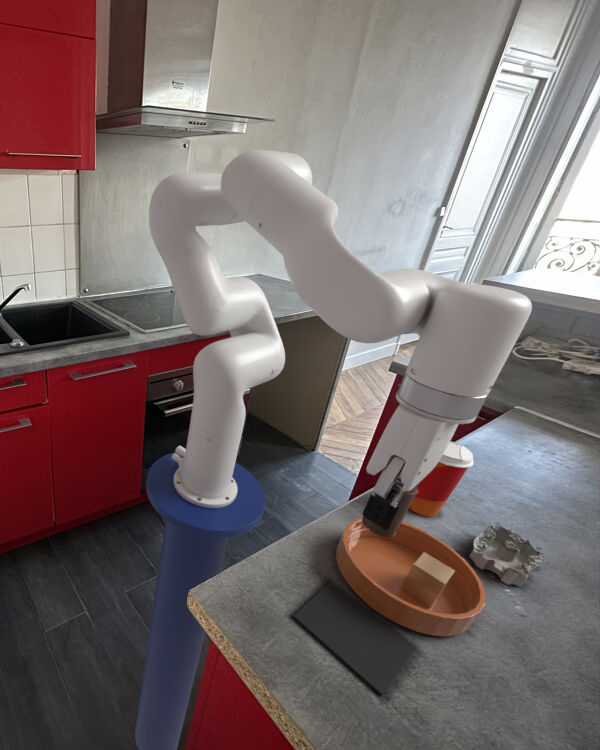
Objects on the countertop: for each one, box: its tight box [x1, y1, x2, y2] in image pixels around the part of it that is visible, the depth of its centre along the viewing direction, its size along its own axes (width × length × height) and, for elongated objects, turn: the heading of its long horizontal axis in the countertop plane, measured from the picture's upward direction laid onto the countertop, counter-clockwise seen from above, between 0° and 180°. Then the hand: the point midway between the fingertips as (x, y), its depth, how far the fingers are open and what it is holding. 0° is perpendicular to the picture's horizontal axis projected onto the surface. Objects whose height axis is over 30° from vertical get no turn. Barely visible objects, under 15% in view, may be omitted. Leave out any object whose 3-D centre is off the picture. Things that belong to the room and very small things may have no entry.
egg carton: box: [468, 520, 544, 587], centre depth 69 cm, size 11×8×4 cm
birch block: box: [401, 552, 455, 608], centre depth 62 cm, size 4×4×6 cm
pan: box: [335, 516, 487, 637], centre depth 64 cm, size 18×18×4 cm
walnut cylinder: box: [362, 478, 417, 537], centre depth 54 cm, size 4×4×8 cm
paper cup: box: [408, 440, 474, 518], centre depth 77 cm, size 8×8×14 cm
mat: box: [292, 581, 417, 697], centre depth 57 cm, size 12×10×1 cm
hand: (384, 513), depth 55 cm, fingers closed on walnut cylinder, 4 cm apart
